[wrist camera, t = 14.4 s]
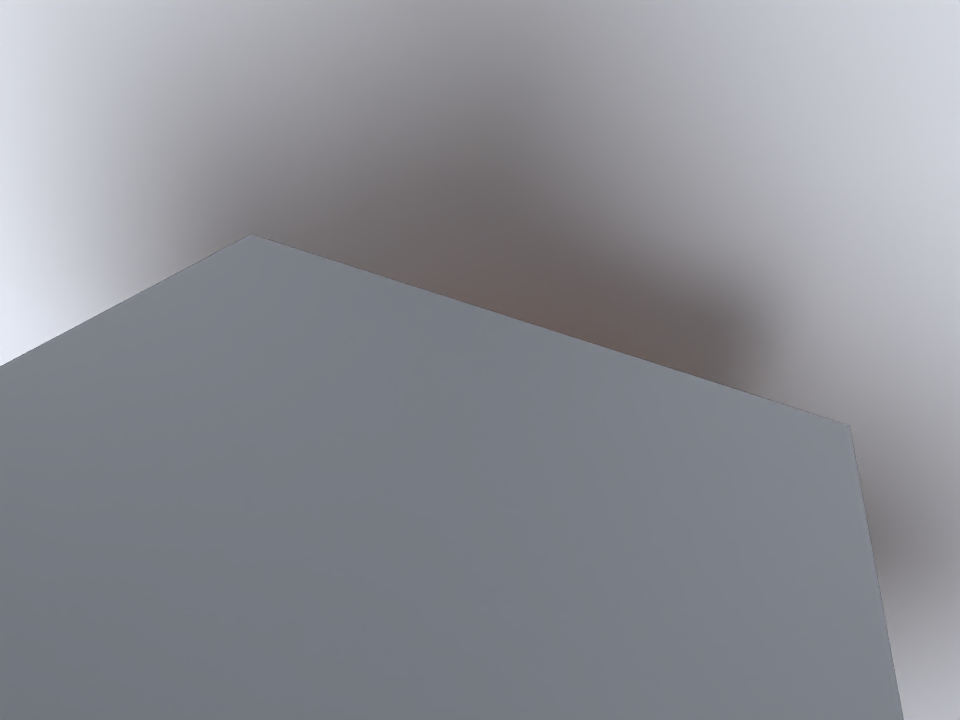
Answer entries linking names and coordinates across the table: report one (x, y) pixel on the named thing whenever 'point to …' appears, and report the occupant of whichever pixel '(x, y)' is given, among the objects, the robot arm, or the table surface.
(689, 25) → the table surface
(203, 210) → the table surface
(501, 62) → the table surface
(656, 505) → the grey matte cube
